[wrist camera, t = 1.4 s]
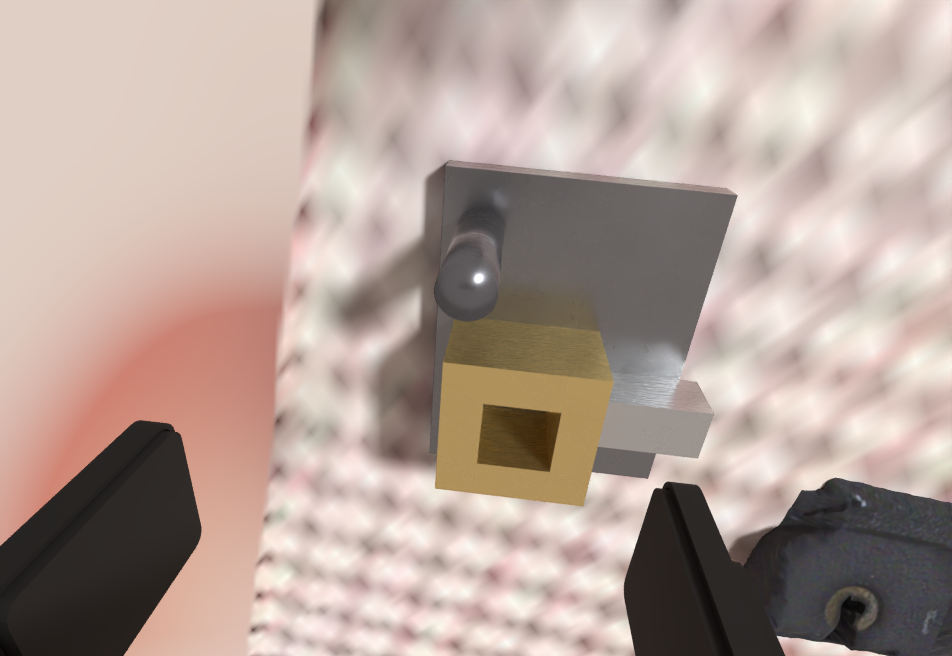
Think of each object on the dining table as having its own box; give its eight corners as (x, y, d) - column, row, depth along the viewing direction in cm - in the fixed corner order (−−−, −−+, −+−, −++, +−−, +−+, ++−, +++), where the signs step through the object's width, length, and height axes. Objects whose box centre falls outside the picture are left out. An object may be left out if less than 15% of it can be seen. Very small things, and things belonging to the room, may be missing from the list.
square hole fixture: (449, 160, 26) (428, 188, 21) (746, 190, 26) (810, 227, 20) (433, 437, 35) (415, 512, 29) (658, 464, 34) (685, 545, 29)
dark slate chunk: (970, 661, 42) (1020, 729, 38) (705, 606, 41) (726, 668, 37) (1117, 531, 35) (1200, 597, 30) (800, 462, 34) (840, 519, 30)
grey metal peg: (459, 204, 26) (435, 258, 19) (507, 209, 26) (501, 265, 19) (456, 250, 27) (432, 317, 20) (502, 254, 27) (494, 324, 20)
